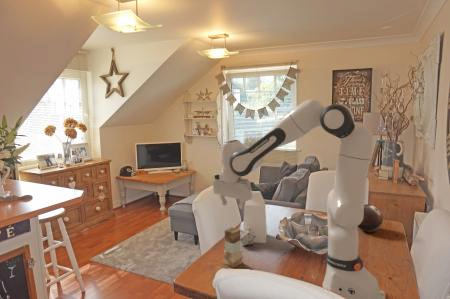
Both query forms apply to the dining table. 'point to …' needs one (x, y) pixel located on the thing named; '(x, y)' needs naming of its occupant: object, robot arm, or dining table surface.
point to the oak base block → (233, 258)
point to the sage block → (233, 247)
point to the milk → (255, 217)
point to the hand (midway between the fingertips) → (232, 206)
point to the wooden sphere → (371, 219)
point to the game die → (246, 237)
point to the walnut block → (232, 235)
